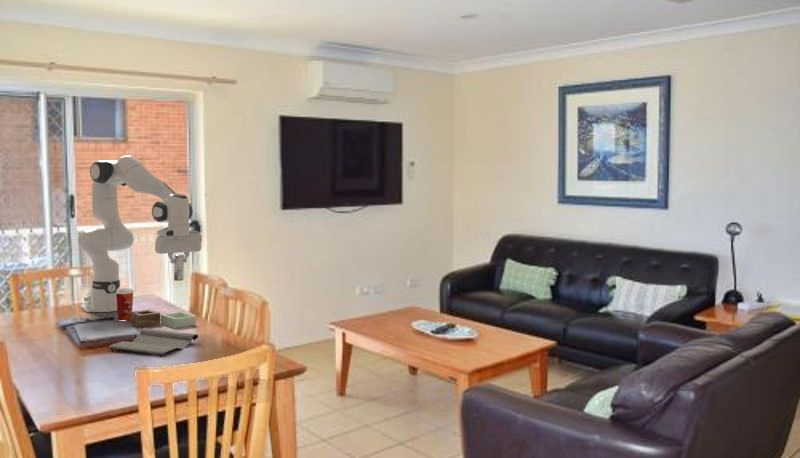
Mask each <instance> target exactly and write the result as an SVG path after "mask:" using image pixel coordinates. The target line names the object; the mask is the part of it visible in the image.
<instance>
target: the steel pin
mask: <svg viewBox="0 0 800 458" xmlns="http://www.w3.org/2000/svg"><path fill="white" fill-rule="evenodd" d="M184 256H185V254H173V259H176V261H175V262H176V263H173V281H176V282H177V281H179V282H180V281H184V271H185V270H184V269H185V268H184V263H185V262H184Z"/></svg>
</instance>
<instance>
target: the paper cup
mask: <svg viewBox="0 0 800 458" xmlns="http://www.w3.org/2000/svg"><path fill="white" fill-rule="evenodd" d="M115 293H116V298H117V311H116V312H117V313H116V314H117V321H118V320H126V321H128V322H130V312H133V302H134V293H135V290H134V289H133V288H130V287H128V288H127V287H124V288H123V287H122V288H120V289H117V290H116V292H115Z"/></svg>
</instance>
